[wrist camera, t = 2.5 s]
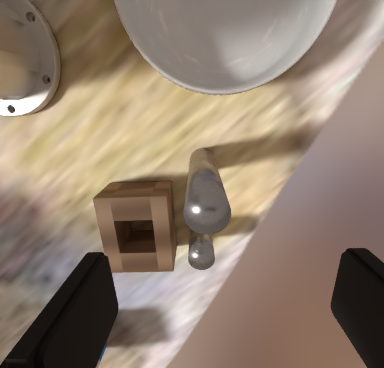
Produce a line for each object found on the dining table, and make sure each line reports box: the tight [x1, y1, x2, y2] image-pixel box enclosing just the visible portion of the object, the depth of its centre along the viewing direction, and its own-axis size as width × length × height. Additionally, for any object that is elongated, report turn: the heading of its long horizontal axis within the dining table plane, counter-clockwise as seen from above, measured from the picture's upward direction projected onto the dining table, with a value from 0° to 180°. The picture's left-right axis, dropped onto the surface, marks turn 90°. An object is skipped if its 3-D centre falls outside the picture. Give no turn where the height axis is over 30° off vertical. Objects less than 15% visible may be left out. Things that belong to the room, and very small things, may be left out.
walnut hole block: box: [93, 181, 177, 273], centre depth 27 cm, size 10×8×5 cm
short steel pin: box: [188, 228, 215, 270], centre depth 28 cm, size 3×3×6 cm
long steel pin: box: [184, 149, 231, 234], centre depth 20 cm, size 3×3×14 cm
